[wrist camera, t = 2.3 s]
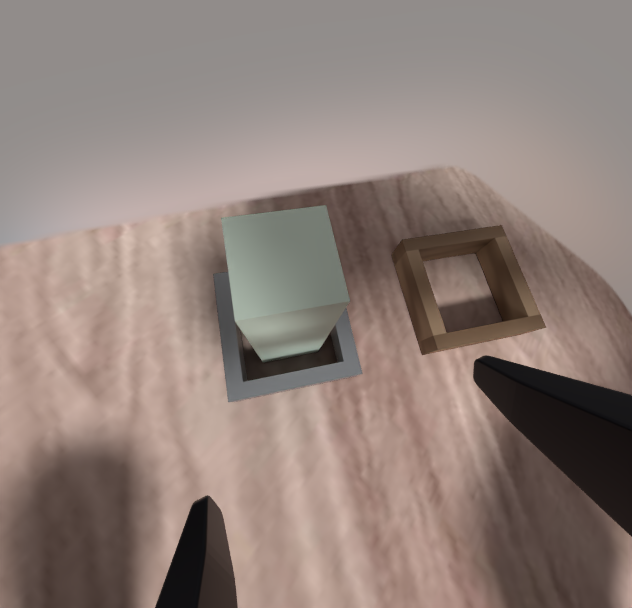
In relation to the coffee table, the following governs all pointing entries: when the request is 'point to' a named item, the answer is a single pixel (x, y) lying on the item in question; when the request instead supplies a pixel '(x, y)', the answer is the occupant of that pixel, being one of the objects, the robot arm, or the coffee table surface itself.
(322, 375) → the socket
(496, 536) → the coffee table surface
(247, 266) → the peg
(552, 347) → the coffee table surface
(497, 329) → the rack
